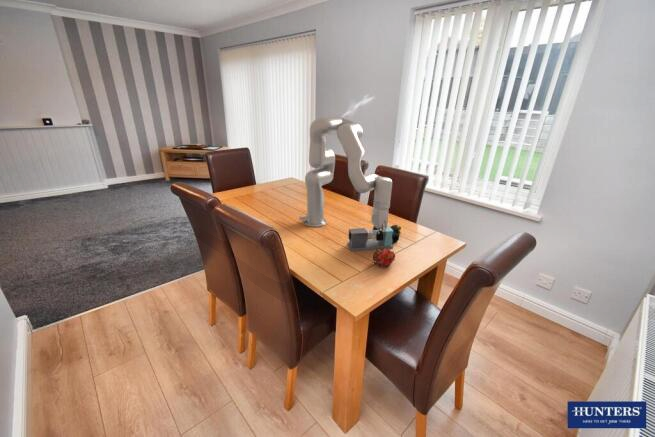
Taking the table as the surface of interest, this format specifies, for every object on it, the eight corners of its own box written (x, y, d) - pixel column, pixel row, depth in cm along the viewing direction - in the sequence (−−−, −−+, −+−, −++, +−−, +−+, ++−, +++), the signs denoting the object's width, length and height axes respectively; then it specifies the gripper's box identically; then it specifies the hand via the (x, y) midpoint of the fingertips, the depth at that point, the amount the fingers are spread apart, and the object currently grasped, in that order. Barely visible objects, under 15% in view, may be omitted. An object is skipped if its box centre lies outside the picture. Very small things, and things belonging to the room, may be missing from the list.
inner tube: (360, 240, 133) (361, 233, 131) (358, 236, 136) (359, 230, 134) (389, 237, 135) (390, 231, 134) (387, 234, 138) (387, 228, 137)
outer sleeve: (351, 248, 132) (351, 233, 129) (348, 243, 137) (349, 229, 134) (366, 247, 134) (368, 232, 131) (363, 242, 138) (364, 227, 135)
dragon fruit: (369, 269, 121) (390, 267, 126) (380, 267, 114) (403, 265, 119) (366, 250, 123) (388, 248, 128) (377, 247, 116) (399, 245, 121)
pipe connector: (389, 219, 155) (408, 230, 143) (388, 228, 157) (407, 239, 145) (373, 224, 150) (392, 235, 138) (372, 232, 152) (391, 244, 140)
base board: (351, 252, 132) (351, 249, 131) (347, 244, 139) (347, 241, 138) (392, 248, 135) (392, 246, 135) (386, 240, 143) (386, 238, 142)
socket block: (384, 246, 135) (386, 231, 132) (380, 240, 141) (381, 226, 137) (391, 245, 136) (393, 231, 132) (386, 239, 141) (388, 225, 138)
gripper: (368, 198, 135) (365, 231, 143) (380, 210, 121) (376, 247, 128) (382, 197, 137) (379, 230, 144) (396, 210, 122) (391, 246, 129)
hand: (378, 238), depth 136 cm, fingers closed on inner tube, 3 cm apart
